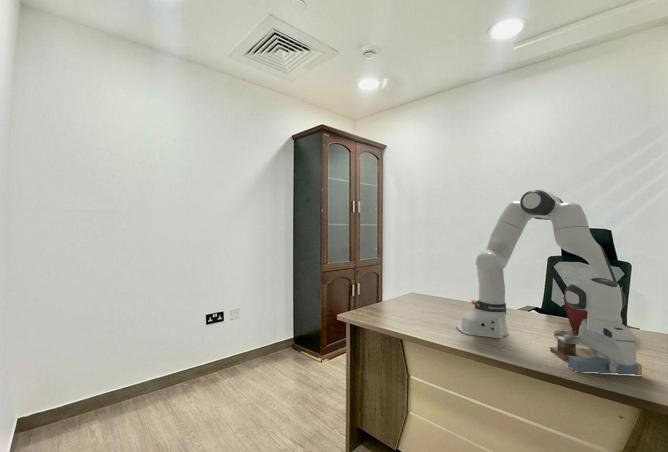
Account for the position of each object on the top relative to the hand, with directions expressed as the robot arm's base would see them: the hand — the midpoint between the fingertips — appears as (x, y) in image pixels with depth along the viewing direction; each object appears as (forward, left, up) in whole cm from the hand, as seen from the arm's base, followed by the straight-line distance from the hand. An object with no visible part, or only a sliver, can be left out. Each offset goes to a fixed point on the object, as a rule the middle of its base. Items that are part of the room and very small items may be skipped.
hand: (604, 366), depth 101 cm
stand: (+3, +12, -2) cm, 12 cm away
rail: (0, 0, -2) cm, 2 cm away
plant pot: (+26, +43, -2) cm, 50 cm away
